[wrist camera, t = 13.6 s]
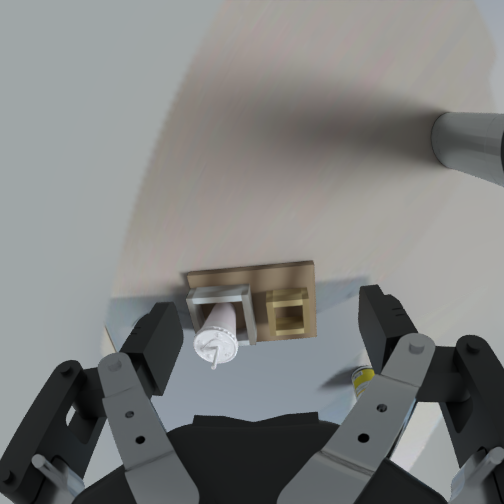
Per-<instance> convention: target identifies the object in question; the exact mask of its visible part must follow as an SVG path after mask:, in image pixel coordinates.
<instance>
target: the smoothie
mask: <svg viewBox="0 0 504 504" xmlns="http://www.w3.org/2000/svg"><path fill="white" fill-rule="evenodd" d="M193 345H194V349H195V351H196V353H197V354H198V355H199V356H200V357H201V358H203V359H205V360H207V361H209V362H212V367H211V368H212V369H216V365H217V363H225V362H228V361H230V360H231V359H233V358H234V357H235V355H236V353H237V349H238V342H237V339H236V310H235V307H234V306H233V305H232V304H231V303H230V302H221V303H216V304H215V306H214V307H213V309H212V311H211V313H210V314H209V316H208V318H207V320H206V322H205V323H204V325H203V327H202V328H201V329H200V330H199V331H198V332H197V333H196V335H195V338H194V343H193Z"/></svg>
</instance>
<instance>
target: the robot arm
mask: <svg viewBox="0 0 504 504" xmlns="http://www.w3.org/2000/svg"><path fill="white" fill-rule="evenodd" d="M431 141H432V147H433V150H434V153H435V155H436V157H437V158H438V159H439V161H440V162H441V163H442V164H443V165H445V166H447V167H448V168H452V169H455V170H458V171H461V172H464V173H467V174H470V175H472V176H475V177H478V178H481V179H484V180H487V181H489V182H492V183H495V184H497V185H500V186H503V187H504V114H496V113H464V112H451V113H445V114H443V115H441V116H440V117H439V118H438V119H437V120H436V122H435V124H434V126H433V129H432V134H431ZM358 323H359V330H360V333H361V336H362V339H363V341H364V344H365V347H366V350H367V353H368V356H369V359H370V362H371V365H372V368H373V371H374V374H375V375H374V376H373V378H372V379H371V381H370V383H369V384H368V386H367V387H366V389H365V390H364V392H363V393H362V395H361V396H360V398H359V399H358V401H357V402H356V404H355V405H354V407H353V408H352V410H351V411H350V413H349V414H348V415H347V417H346V418H345V420H344V421H343V422H342V424H341V425H338V424H335V423H332V422H328V421H321V420H319V419H318V412H309V413H297V414H286V415H282V416H278V417H274V418H270V419H266V420H262V421H257V422H250V421H245V420H240V419H234V418H230V417H226V416H202V415H194V419H193V423H192V424H188V425H184V426H181V427H178V428H176V429H173V430H171V431H169V432H168V433H167V431H166V429H165V427H164V425H163V423H162V422H161V420H160V418H159V416H158V414H157V412H156V410H155V408H154V406H153V404H152V402H151V400H150V399H151V397H152V395H156V396H162V395H163V393H164V391H165V388H166V385H167V383H168V380H169V377H170V375H171V372H172V370H173V367H174V365H175V362H176V359H177V357H178V354H179V352H180V349H181V347H182V344H183V330H182V326H181V323H180V320H179V317H178V313H177V310H176V307H175V304H174V303H173V302H159V303H156V304H155V305H154V307H153V308H152V310H151V312H150V313H149V314H146V315H144V316H143V317H142V318H141V319H140V320H138V322H137V324H136V325H135V327H134V329H133V330H132V332H131V333H130V334H131V335H129V336H128V338H127V340H126V341H125V343H124V344H123V346H122V348H121V349H120V351H119V352H117V353H112V354H109V355H107V356H106V357H104V358H103V359H102V360H101V361H100V362H99V364H98V367H96V368H90V369H83V368H82V366H81V365H80V363H79V362H78V361H76V360H69V361H65V362H63V363H61V364H60V365H58V366H57V367H56V369H55V370H54V371H53V373H52V374H51V376H50V377H49V379H48V380H47V382H46V383H45V385H44V387H43V388H42V389H41V391H40V393H39V394H38V396H37V397H36V399H35V400H34V402H33V404H32V406H31V407H30V409H29V410H28V412H27V414H26V415H25V417H24V419H23V420H22V422H21V424H20V426H19V427H18V429H17V431H16V432H15V434H14V436H13V438H12V440H11V441H10V443H9V445H8V447H7V449H6V451H5V452H4V454H3V456H2V458H1V460H0V492H1V493H2V494H3V495H4V496H6V497H7V498H8V499H10V500H11V501H12V502H13V503H14V504H504V368H503V367H502V365H501V363H500V361H499V360H498V359H497V357H496V355H495V354H494V352H493V350H492V349H491V347H490V346H489V344H488V343H487V342H486V341H485V340H484V339H483V338H481V337H479V336H475V335H465V336H463V337H461V338H459V339H458V341H457V343H456V346H455V347H443V346H435V343H434V341H433V340H432V339H431V338H430V337H428V336H426V335H424V334H420V333H418V331H417V329H416V328H415V326H414V324H413V323H412V321H411V319H410V318H409V316H408V315H407V313H406V311H405V309H403V306H402V305H401V303H400V301H399V300H397V299H396V298H395V297H393V296H392V295H384V294H383V292H382V291H381V289H380V287H379V285H377V284H376V285H368V286H361V287H360V292H359V313H358ZM418 402H438V403H439V405H440V408H441V411H442V414H443V417H444V419H445V422H446V425H447V428H448V431H449V434H450V438H451V441H452V444H453V447H454V450H455V454H456V457H457V460H458V464H459V468H460V470H459V471H458V472H457V474H456V475H455V476H454V478H453V480H452V483H451V497H450V501H449V502H447V501H446V500H445V498H444V497H443V496H442V495H440V494H439V493H438V492H436V491H435V490H433V489H432V488H430V487H429V486H427V485H426V484H424V483H423V482H421V481H420V480H418V479H417V478H415V477H414V476H412V475H411V474H409V473H408V472H407V471H405V470H404V469H402V468H401V467H399V466H398V465H397V464H395V463H394V462H392V461H391V460H390V459H391V457H392V455H393V453H394V451H395V449H396V447H397V445H398V443H399V441H400V439H401V437H402V435H403V433H404V431H405V429H406V427H407V425H408V423H409V421H410V419H411V417H412V415H413V412H414V410H415V408H416V406H417V403H418ZM71 406H73V408H74V409H75V410H76V411H75V413H74V415H73V417H72V419H71V421H70V423H69V425H68V426H67V424H66V415H67V413H68V411H69V409H70V408H71ZM107 418H108V421H109V425H110V428H111V431H112V434H113V437H114V440H115V443H116V445H117V448H118V451H119V454H120V456H121V459H122V461H123V465H121V466H120V467H118V468H117V469H116V470H114V471H112V472H111V473H109V474H108V475H106V476H105V477H103V478H102V479H100V480H99V481H97V482H95V483H94V484H92V485H91V486H89V487H88V488H86V489H85V485H84V482H83V478H84V475H85V472H86V469H87V467H88V464H89V462H90V459H91V456H92V454H93V451H94V448H95V446H96V444H97V441H98V439H99V436H100V433H101V431H102V429H103V426H104V424H105V421H106V419H107Z"/></svg>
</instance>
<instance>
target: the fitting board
mask: <svg viewBox="0 0 504 504" xmlns="http://www.w3.org/2000/svg"><path fill="white" fill-rule="evenodd" d="M187 278H188V282H189V286H190V291H189V293H188V296H187V298H186V301H187V305H188V309H189V312H190V316H191V320H192V323H193V327H194V330H195V334H196V333H197V332H198V331H199V330H200V329H201V328H202V327H203V325H204V323H205V322H206V320H207V318H208V316H209V314H210V313H211V311H212V309H213V307H214V306H215V304H216V303H221V302H230V303H231V304H232V305H233V306H234V307H235V310H236V339H237V342H238V346H240V345H241V346H242V345H256V342H261V341H275V340H288V339H299V338H310V337H316V336H317V335H316V334H317V329H316V296H315V274H314V263H313V261H303V262H293V263H282V264H272V265H261V266H250V267H239V268H228V269H217V270H205V271H194V272H189V273H188V275H187Z"/></svg>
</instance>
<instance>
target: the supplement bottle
mask: <svg viewBox="0 0 504 504" xmlns="http://www.w3.org/2000/svg"><path fill="white" fill-rule="evenodd" d="M374 375H375V374H374V371H373V368H372V367H371V366H364V367H360V368H358V369H357V370H355V371H354V373H353V374H352V377H351V379H352V384H353V388H354V392H355V395H356V399H357V401H358V399H359V398H360V396H361V395H362V393H363V392H364V390H365V389H366V387H367V386H368V384H369V383H370V381H371V379H372V378H373V376H374Z"/></svg>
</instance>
